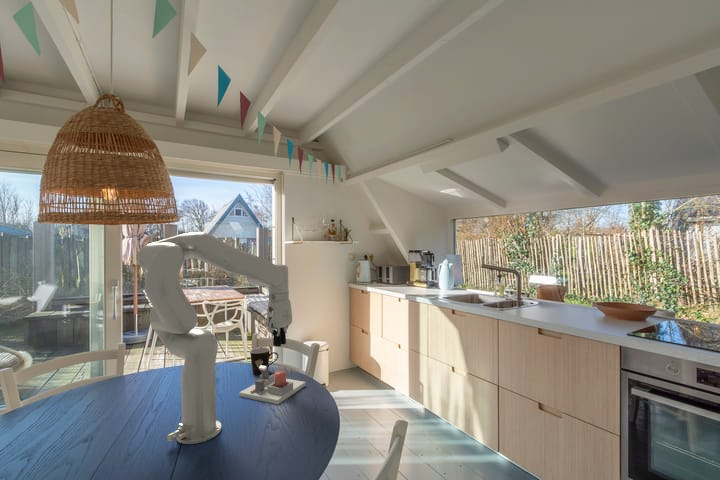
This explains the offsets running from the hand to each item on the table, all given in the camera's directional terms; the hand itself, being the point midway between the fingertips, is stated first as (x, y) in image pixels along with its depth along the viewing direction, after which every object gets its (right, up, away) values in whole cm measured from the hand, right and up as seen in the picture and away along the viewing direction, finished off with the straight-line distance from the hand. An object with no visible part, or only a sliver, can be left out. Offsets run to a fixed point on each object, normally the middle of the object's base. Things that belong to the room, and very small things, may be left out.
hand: (279, 344), depth 134 cm
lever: (-7, -17, +10) cm, 21 cm away
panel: (-3, -19, +4) cm, 20 cm away
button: (0, -15, 0) cm, 15 cm away
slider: (-7, -18, 0) cm, 19 cm away
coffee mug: (-13, -20, +24) cm, 33 cm away
